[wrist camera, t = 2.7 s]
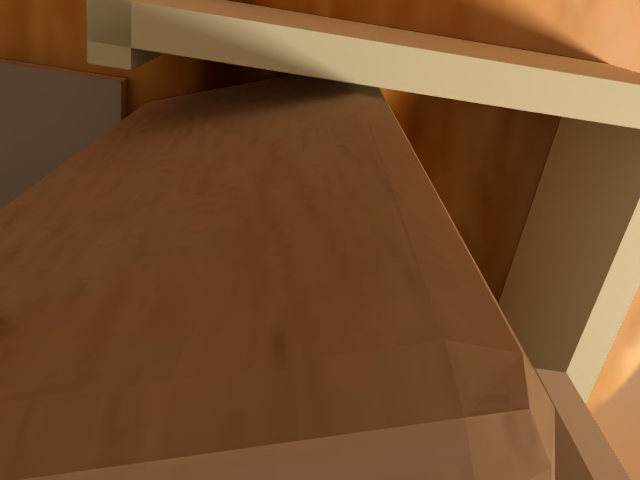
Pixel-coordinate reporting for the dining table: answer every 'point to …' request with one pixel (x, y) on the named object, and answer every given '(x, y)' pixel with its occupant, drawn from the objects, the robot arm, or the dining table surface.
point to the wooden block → (256, 305)
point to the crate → (466, 85)
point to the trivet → (50, 119)
